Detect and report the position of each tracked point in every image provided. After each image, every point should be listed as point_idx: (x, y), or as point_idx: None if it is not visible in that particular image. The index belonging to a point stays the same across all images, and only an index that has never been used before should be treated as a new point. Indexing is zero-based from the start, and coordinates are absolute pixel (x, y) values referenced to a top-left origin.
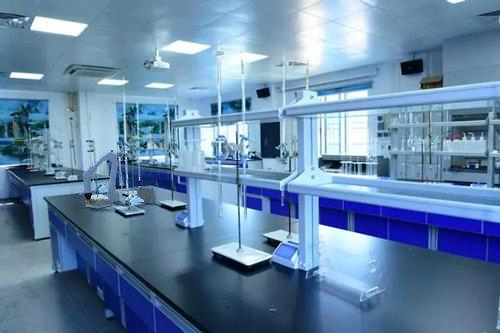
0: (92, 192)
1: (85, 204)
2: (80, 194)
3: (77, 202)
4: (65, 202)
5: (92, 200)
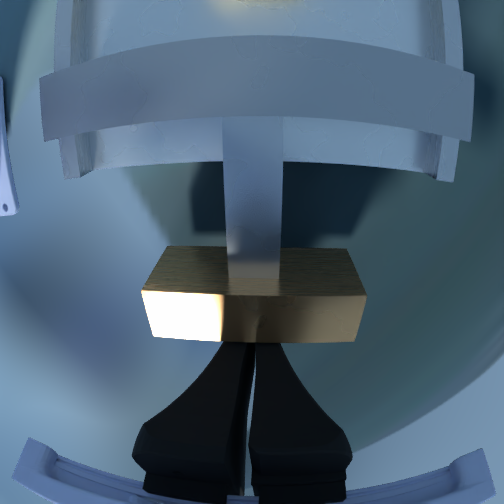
0: (108, 474)
1: (445, 177)
2: (477, 460)
3: None
4: None
5: (354, 82)
